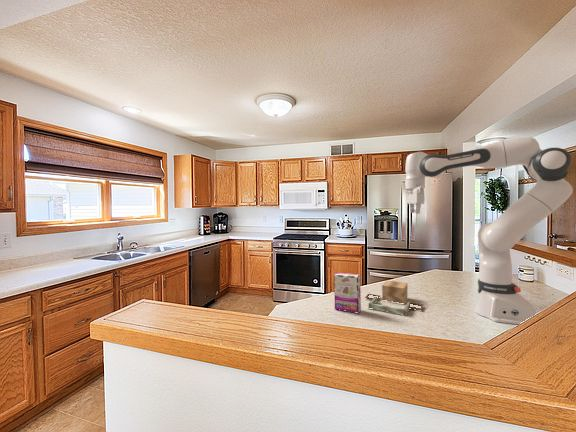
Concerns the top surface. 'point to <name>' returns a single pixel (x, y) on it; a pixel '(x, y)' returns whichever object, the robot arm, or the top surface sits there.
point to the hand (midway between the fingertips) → (414, 213)
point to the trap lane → (391, 309)
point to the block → (394, 291)
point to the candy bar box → (347, 292)
